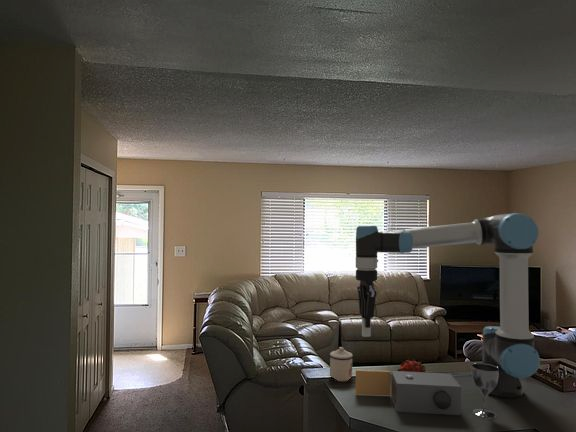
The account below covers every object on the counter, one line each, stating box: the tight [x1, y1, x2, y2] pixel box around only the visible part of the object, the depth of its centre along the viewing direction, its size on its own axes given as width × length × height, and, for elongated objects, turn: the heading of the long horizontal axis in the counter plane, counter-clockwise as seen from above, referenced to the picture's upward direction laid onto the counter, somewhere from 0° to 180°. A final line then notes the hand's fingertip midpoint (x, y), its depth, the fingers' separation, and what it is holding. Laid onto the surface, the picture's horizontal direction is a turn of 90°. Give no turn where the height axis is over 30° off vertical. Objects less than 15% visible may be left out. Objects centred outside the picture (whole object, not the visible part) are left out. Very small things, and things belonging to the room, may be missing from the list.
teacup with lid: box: [329, 346, 354, 382], centre depth 171 cm, size 12×9×12 cm
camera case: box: [390, 370, 462, 416], centre depth 144 cm, size 20×14×10 cm
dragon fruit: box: [396, 359, 427, 373], centre depth 168 cm, size 8×8×12 cm
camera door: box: [354, 369, 392, 396], centre depth 153 cm, size 12×1×8 cm, turn 87°
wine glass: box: [471, 362, 499, 420], centre depth 140 cm, size 8×8×15 cm
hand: (366, 336), depth 154 cm, fingers closed
